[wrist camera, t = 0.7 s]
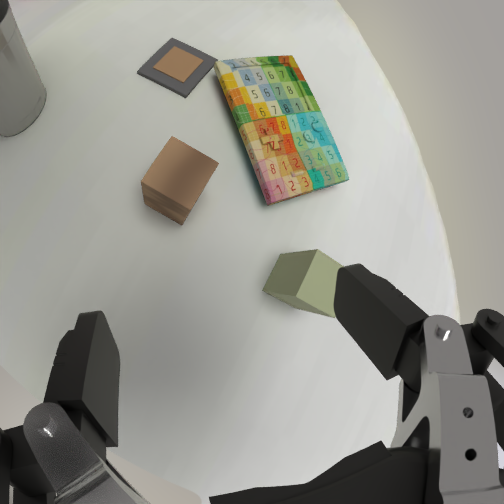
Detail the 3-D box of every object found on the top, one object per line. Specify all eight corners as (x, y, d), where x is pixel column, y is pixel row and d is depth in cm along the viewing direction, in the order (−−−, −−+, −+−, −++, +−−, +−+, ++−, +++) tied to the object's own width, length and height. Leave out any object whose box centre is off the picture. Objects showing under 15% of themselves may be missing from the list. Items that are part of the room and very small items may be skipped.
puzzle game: (274, 201, 32) (216, 57, 31) (260, 209, 36) (209, 77, 35) (353, 177, 36) (294, 51, 35) (333, 186, 40) (282, 69, 39)
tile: (137, 73, 32) (137, 70, 31) (171, 40, 34) (172, 36, 33) (185, 98, 34) (186, 94, 33) (217, 62, 36) (218, 59, 35)
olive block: (262, 290, 36) (295, 296, 27) (280, 254, 37) (317, 249, 28) (295, 308, 37) (334, 318, 28) (311, 272, 38) (354, 273, 29)
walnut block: (144, 203, 32) (140, 181, 23) (167, 168, 33) (171, 135, 24) (182, 225, 33) (190, 210, 25) (203, 189, 34) (219, 163, 26)
